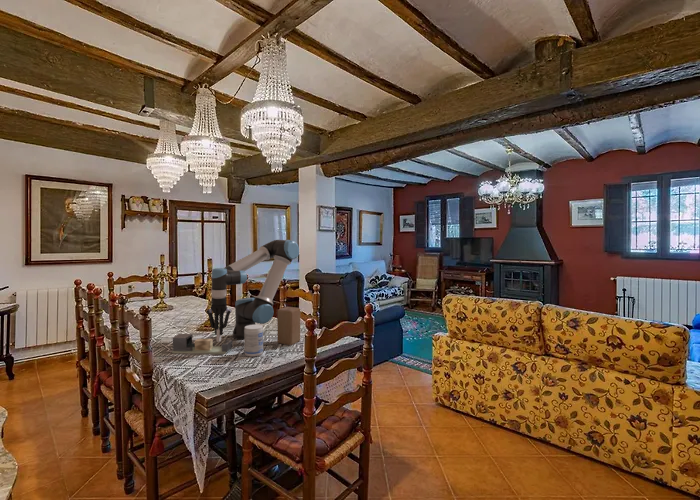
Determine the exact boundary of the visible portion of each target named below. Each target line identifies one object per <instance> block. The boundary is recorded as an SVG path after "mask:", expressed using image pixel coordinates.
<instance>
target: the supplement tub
mask: <svg viewBox="0 0 700 500" xmlns="http://www.w3.org/2000/svg"><path fill="white" fill-rule="evenodd" d="M243 340H244V345H243V346H244V355H245V356H247V357H250V358H251V357H253V358H254V357H258V356H261V355H263V353H264V326H263V324H256V325H248V326H245V329H244V339H243Z"/></svg>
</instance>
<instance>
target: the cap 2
mask: <svg viewBox="0 0 700 500" xmlns="http://www.w3.org/2000/svg"><path fill="white" fill-rule="evenodd" d="M221 346H222V352H227V353H228V352H229V351H230V350H231V349H232V348H233V339H226V340H225V343H221Z"/></svg>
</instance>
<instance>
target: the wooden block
mask: <svg viewBox="0 0 700 500" xmlns="http://www.w3.org/2000/svg"><path fill="white" fill-rule="evenodd" d="M276 311H277V312H276V313H277V320H276V321H277V322H276V323H277V327H276V329H277V331H276V332H277V334H276V335H277V337H276V339H277V343H278V344H279V345H280V344H281V345H287V346H293V345H295V344H297V343H299V342H300V341H301V308H300V307H293V306H285V307H282V308H278V309H277V310H276Z"/></svg>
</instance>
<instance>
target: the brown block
mask: <svg viewBox="0 0 700 500" xmlns="http://www.w3.org/2000/svg"><path fill="white" fill-rule="evenodd" d="M213 340H214V338H197V339H195V340H194V343H195V350H211V349H212V348H213V343H214V341H213Z"/></svg>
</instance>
